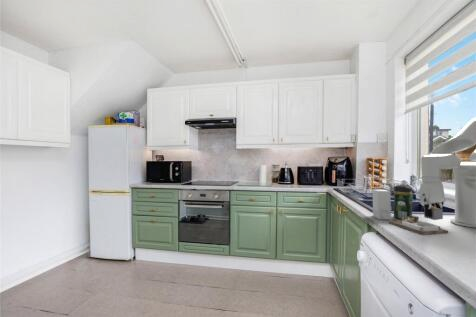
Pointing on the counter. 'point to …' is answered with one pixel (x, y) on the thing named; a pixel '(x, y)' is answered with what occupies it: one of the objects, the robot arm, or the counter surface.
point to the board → (413, 220)
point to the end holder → (427, 225)
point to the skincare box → (381, 204)
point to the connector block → (435, 213)
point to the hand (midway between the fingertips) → (433, 215)
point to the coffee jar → (402, 201)
